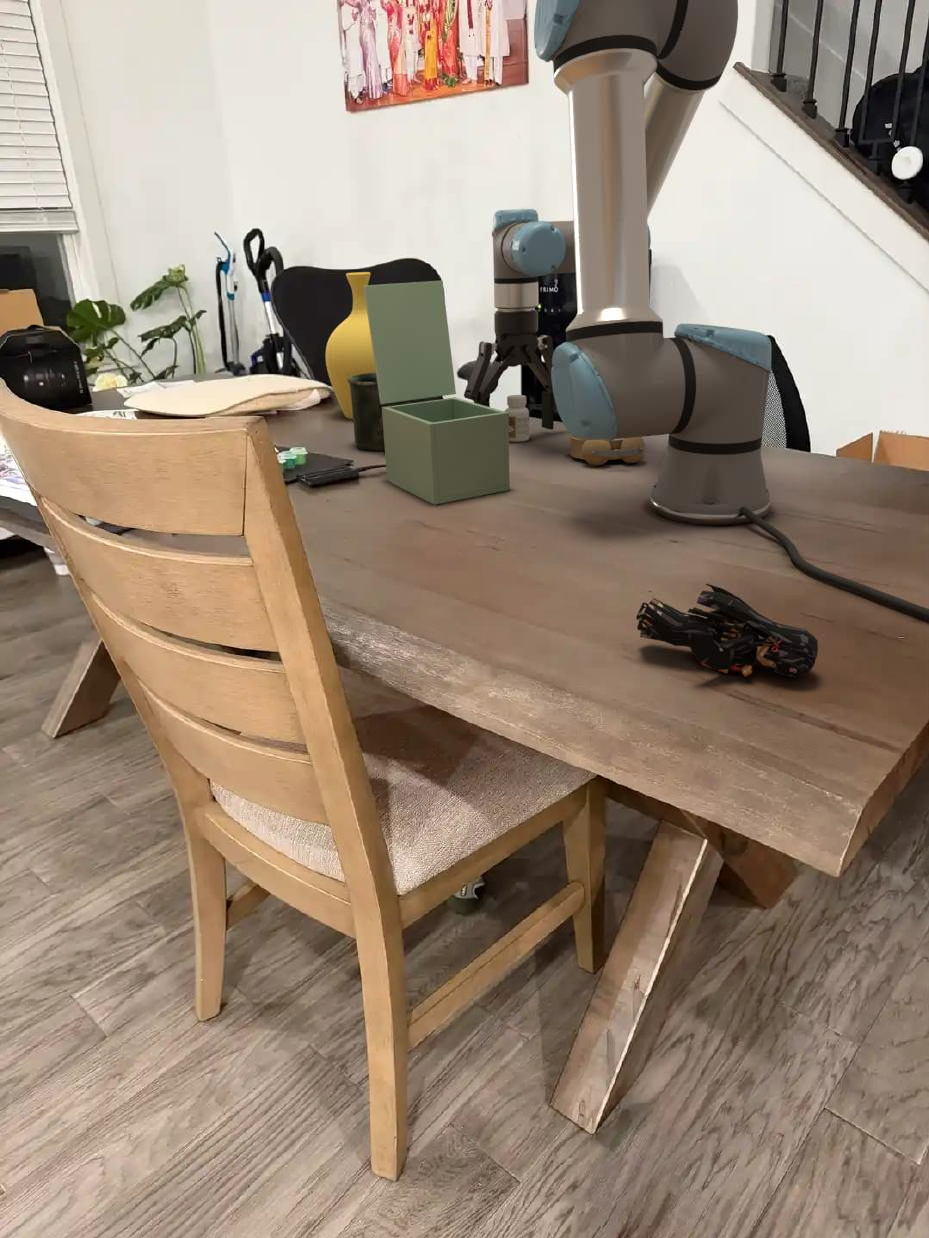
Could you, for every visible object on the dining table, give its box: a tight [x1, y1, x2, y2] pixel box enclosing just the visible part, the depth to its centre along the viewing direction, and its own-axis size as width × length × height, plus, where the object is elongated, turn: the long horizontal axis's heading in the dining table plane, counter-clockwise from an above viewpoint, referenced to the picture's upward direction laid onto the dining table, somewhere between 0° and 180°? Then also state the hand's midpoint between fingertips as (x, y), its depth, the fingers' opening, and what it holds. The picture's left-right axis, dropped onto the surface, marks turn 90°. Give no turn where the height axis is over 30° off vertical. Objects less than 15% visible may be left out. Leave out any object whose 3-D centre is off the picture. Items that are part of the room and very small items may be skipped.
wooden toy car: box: [569, 434, 646, 467], centre depth 138 cm, size 11×5×15 cm
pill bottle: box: [504, 394, 530, 443], centre depth 152 cm, size 4×4×8 cm
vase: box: [325, 271, 376, 420], centre depth 173 cm, size 16×16×28 cm
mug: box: [347, 373, 409, 451], centre depth 149 cm, size 11×15×12 cm
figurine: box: [635, 583, 819, 678], centre depth 72 cm, size 9×8×15 cm
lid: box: [364, 280, 457, 404], centre depth 126 cm, size 17×13×1 cm
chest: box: [382, 397, 510, 506], centre depth 125 cm, size 16×13×11 cm
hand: (516, 433), depth 153 cm, fingers open, 13 cm apart
